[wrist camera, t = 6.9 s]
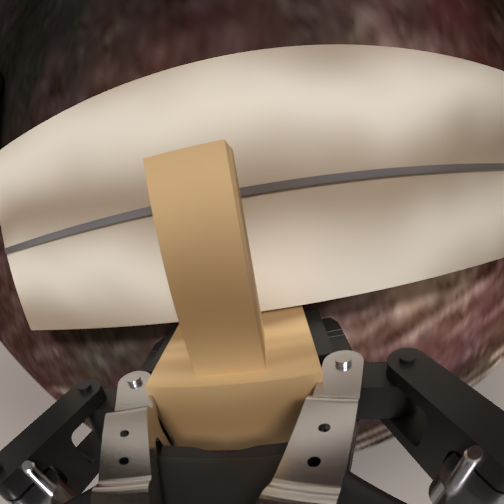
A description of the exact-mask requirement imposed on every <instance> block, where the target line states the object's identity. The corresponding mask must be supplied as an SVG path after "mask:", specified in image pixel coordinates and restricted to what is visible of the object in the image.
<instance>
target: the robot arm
mask: <svg viewBox="0 0 504 504" xmlns="http://www.w3.org/2000/svg"><path fill="white" fill-rule="evenodd" d="M304 313H305V317H306V320H307V323H308V326H309V329H310V333H311V336H312V339H313V342H314V345H315V349H316V352H317V355H318V359H319V362H320V365H321V369H322V372H323V382H317V384H316V387H315V390H314V393H313V396H307V397H306V399H305V402H304V404H303V407H302V410H301V413H300V415H299V418H298V420H297V423H296V426H295V428H294V431H293V433H292V436H291V438H290V441H289V442H284V443H275V444H265V445H257V446H253V447H250V448H246V449H241V450H237V451H233V452H228V453H219V452H214V451H209V450H204V449H200V448H195V447H186V446H177V443H176V442H175V440H174V438H173V437H169V435H168V434H167V432H166V430H165V428H164V426H163V424H162V422H161V420H160V419H159V417H158V410H157V405H156V403H155V400H154V398H153V396H152V395H148V394H147V392H146V390H145V385H146V383H147V381H148V380H149V378H150V376H151V374H152V372H153V370H154V369H155V367H156V365H157V363H158V361H159V359H160V358H161V356H162V354H163V352H164V350H165V349H166V347H167V345H168V343H169V341H170V340H171V338H172V336H173V334H174V332H175V331H176V329H177V327H173V328H171V330H170V332H169V334H168V335H167V337H166V338H163V339H162V340H160V341H159V342H158V343H156V344H155V346H154V347H153V349H152V352H150V354H149V355H148V357H147V359H146V360H145V362H144V364H143V365H142V367H141V369H140V370H139V371H135V372H131V373H129V374H127V375H125V376H124V377H122V378H121V379H120V381H119V383H118V387H114V388H108V389H103V388H102V386H101V384H100V382H99V381H97V380H94V379H88V380H84V381H81V382H79V383H78V384H76V385H75V386H74V387H73V388H72V389H70V390H69V391H68V392H67V393H66V394H65V395H64V396H62V397H61V398H60V399H59V400H58V401H57V402H55V404H53V405H52V406H51V407H50V408H49V409H47V410H46V411H45V412H44V413H43V414H42V415H41V416H39V418H37V419H36V420H35V421H34V422H33V423H32V424H30V425H29V426H28V427H27V428H26V429H25V430H24V431H22V432H21V433H20V434H19V435H18V436H17V437H16V438H15V439H13V441H11V442H10V443H9V444H8V445H7V446H6V447H4V448H3V449H2V450H1V451H0V495H1V496H2V498H3V499H5V500H6V501H7V502H8V503H9V504H407V503H405V502H403V501H401V500H399V499H397V498H395V497H393V496H391V495H389V494H387V493H386V492H384V491H382V490H380V489H378V488H377V487H375V486H373V485H371V484H370V483H368V482H366V481H364V480H363V479H361V478H359V477H358V476H356V475H355V474H353V473H351V472H350V471H351V465H352V460H353V454H354V449H355V443H356V438H357V432H358V426H359V419H381V421H382V422H383V423H384V425H385V426H386V427H387V428H388V429H389V430H390V432H391V433H392V434H393V435H394V436H395V437H396V438H397V440H398V441H399V442H400V443H401V444H402V445H403V446H404V447H405V449H406V450H407V451H408V452H409V453H410V455H412V457H413V458H414V459H415V460H416V461H417V462H418V463H419V465H420V466H421V467H422V468H423V469H424V470H425V472H426V473H427V474H428V475H429V476H430V477H431V478H432V480H433V481H432V483H431V485H430V487H429V497H430V500H431V501H432V503H433V504H504V411H503V410H502V409H500V408H499V407H497V406H496V405H495V404H493V403H492V402H491V401H489V400H488V399H486V398H485V397H484V396H482V395H481V394H480V393H478V392H477V391H475V390H474V389H473V388H471V387H470V386H469V385H467V384H466V383H465V382H463V381H462V380H460V379H459V378H458V377H456V376H455V375H453V374H452V373H451V372H449V371H448V370H447V369H445V368H444V367H442V366H441V365H440V364H438V363H437V362H435V361H434V360H433V359H431V358H430V357H428V356H427V355H425V354H424V353H423V352H421V351H419V350H417V349H413V348H403V349H398V350H396V351H394V352H392V353H391V354H390V355H389V357H388V359H387V362H366V361H364V359H363V357H362V356H361V355H360V354H359V353H357V352H354V351H352V349H351V347H350V345H349V343H348V341H347V339H346V337H345V335H344V333H343V331H342V330H341V327H340V325H339V323H338V322H337V321H335V320H334V319H332V318H326V319H321V317H320V315H319V312H318V310H317V309H314V310H308V311H304ZM85 420H87V421H88V423H89V425H90V426H91V428H92V429H93V430H92V431H91V433H89V435H88V436H87V437H86V438H85V439H84V440H83V441H82V442H81V443H80V444H79V445H78V446H77V447H75V445H74V444H73V442H72V439H71V436H72V433H73V432H74V430H75V429H76V428H78V427H79V425H81V424H82V423H83V422H84V421H85ZM98 473H99V481H98V484H97V485H96V486H94V487H92V488H91V489H89V490H87V491H86V492H84V493H82V492H83V491H84V490H85V488H86V487H87V486H88V485H89V484H90V482H91V481H92V480H93V479H94V478H95V476H96V475H97V474H98ZM81 493H82V494H81Z"/></svg>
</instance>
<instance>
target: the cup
mask: <svg viewBox="0 0 504 504" xmlns="http://www.w3.org/2000/svg"><path fill="white" fill-rule="evenodd" d="M3 80H4V78H3V73H2V72H1V70H0V94H1V91H2V87H3Z"/></svg>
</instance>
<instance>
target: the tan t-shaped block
mask: <svg viewBox="0 0 504 504" xmlns="http://www.w3.org/2000/svg"><path fill="white" fill-rule="evenodd" d="M143 162H144V169H145V175H146V181H147V187H148V193H149V198H150V203H151V209H152V214H153V219H154V224H155V229H156V233H157V238H158V243H159V247H160V251H161V256H162V260H163V264H164V268H165V273H166V277H167V281H168V284H169V288H170V292H171V296H172V300H173V303H174V307H175V311H176V314H177V318H178V321H179V325H178V327H177V329H176V331H175V332H174V334H173V336H172V338H171V340H170V341H169V343H168V345H167V347H166V349H165V350H164V352H163V354H162V356H161V358H160V359H159V361H158V363H157V365H156V367H155V369H154V370H153V372H152V374H151V376H150V378H149V380H148V381H147V383H146V385H145V390H146V392H147V394H148V395H152V396H153V398H154V400H155V403H156V405H157V410H158V417H159V419H160V420H161V422H162V424H163V426H164V428H165V430H166V432H167V434H168V435H169V437H173V438H174V440H175V442H176V443H177V446H186V447H195V448H200V449H204V450H241V449H246V448H250V447H253V446H257V445H265V444H275V443H284V442H289V441H290V438H291V436H292V433H293V431H294V428H295V426H296V423H297V420H298V418H299V415H300V413H301V410H302V407H303V404H304V402H305V399H306V397H307V396H313V393H314V390H315V387H316V384H317V382H323V372H322V369H321V365H320V362H319V359H318V355H317V352H316V349H315V345H314V342H313V339H312V336H311V333H310V329H309V326H308V323H307V320H306V317H305V313H304V310H303V307H302V305H299V306H293V307H287V308H281V309H274V310H268V311H261V310H260V304H259V298H258V293H257V287H256V281H255V275H254V270H253V264H252V258H251V252H250V246H249V241H248V235H247V229H246V223H245V218H244V212H243V206H242V200H241V194H240V189H239V183H238V177H237V171H236V165H235V159H234V154H233V149H232V148H231V147H230V146H229V144H228V143H227V142H226V141H225V140H224V139H223V140H218V141H213V142H208V143H204V144H199V145H195V146H190V147H186V148H182V149H177V150H173V151H169V152H166V153H162V154H158V155H154V156H150V157H147V158H143Z"/></svg>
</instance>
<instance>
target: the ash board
mask: <svg viewBox="0 0 504 504" xmlns="http://www.w3.org/2000/svg"><path fill="white" fill-rule="evenodd" d="M223 139H224V140H225V141H226V142H227V143H228V144H229V146H230V147H231V148H232V149H233V154H234V159H235V165H236V171H237V177H238V183H239V189H240V194H241V200H242V206H243V212H244V218H245V223H246V229H247V235H248V241H249V246H250V252H251V258H252V264H253V270H254V275H255V281H256V287H257V293H258V298H259V304H260V310H261V311H268V310H274V309H281V308H287V307H293V306H299V305H305V304H311V303H316V302H322V301H327V300H333V299H338V298H343V297H348V296H353V295H358V294H363V293H368V292H373V291H377V290H382V289H386V288H391V287H395V286H400V285H404V284H408V283H413V282H417V281H421V280H425V279H429V278H433V277H437V276H441V275H445V274H448V273H452V272H456V271H460V270H463V269H467V268H470V267H474V266H477V265H481V264H484V263H488V262H491V261H494V260H497V259H501V258H504V71H502V70H499V69H496V68H493V67H490V66H486V65H483V64H479V63H476V62H472V61H468V60H464V59H460V58H456V57H451V56H447V55H442V54H437V53H431V52H425V51H419V50H412V49H404V48H395V47H384V46H370V45H306V46H292V47H280V48H271V49H263V50H255V51H249V52H242V53H236V54H231V55H225V56H220V57H215V58H211V59H206V60H202V61H198V62H194V63H190V64H186V65H182V66H178V67H175V68H171V69H168V70H164V71H161V72H158V73H155V74H152V75H149V76H146V77H143V78H140V79H137V80H134V81H131V82H129V83H126V84H123V85H121V86H118V87H116V88H113V89H111V90H108V91H106V92H103V93H101V94H99V95H97V96H94V97H92V98H90V99H88V100H85V101H83V102H81V103H79V104H77V105H75V106H73V107H71V108H69V109H67V110H65V111H63V112H61V113H59V114H57V115H56V116H54V117H52V118H50V119H48V120H47V121H45V122H43V123H41V124H40V125H38V126H36V127H34V128H33V129H31V130H30V131H28V132H26V133H25V134H23V135H22V136H20V137H18V138H17V139H15V140H14V141H12V142H11V143H9V144H8V145H7V146H5V147H4V148H2V149H1V150H0V225H1V230H2V235H3V240H4V245H5V248H4V250H5V254H7V257H8V261H9V265H10V269H11V272H12V276H13V279H14V283H15V286H16V289H17V292H18V295H19V298H20V301H21V304H22V307H23V310H24V313H25V315H26V318H27V321H28V323H29V326H30V328H31V330H64V329H90V328H108V327H124V326H137V325H150V324H161V323H171V322H179V321H178V318H177V314H176V311H175V307H174V303H173V300H172V296H171V292H170V288H169V284H168V281H167V277H166V273H165V268H164V264H163V260H162V256H161V251H160V247H159V243H158V238H157V233H156V229H155V224H154V219H153V214H152V209H151V203H150V198H149V193H148V187H147V181H146V175H145V169H144V162H143V158H147V157H150V156H154V155H158V154H162V153H166V152H169V151H173V150H177V149H182V148H186V147H190V146H195V145H199V144H204V143H208V142H213V141H218V140H223Z"/></svg>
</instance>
